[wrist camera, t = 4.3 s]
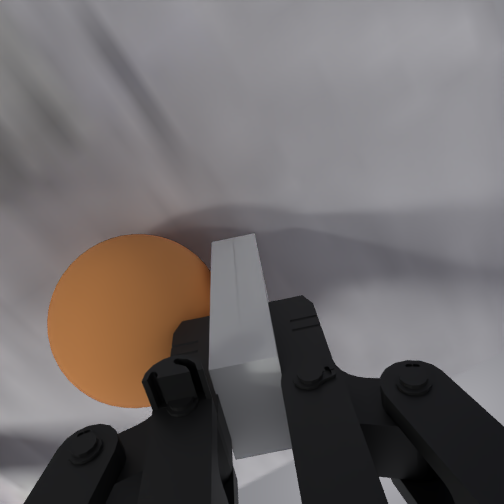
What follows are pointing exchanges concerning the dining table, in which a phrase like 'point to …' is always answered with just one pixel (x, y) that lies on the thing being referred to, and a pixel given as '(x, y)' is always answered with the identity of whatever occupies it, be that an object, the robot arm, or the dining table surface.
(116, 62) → the dining table surface
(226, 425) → the robot arm
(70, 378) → the ball
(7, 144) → the dining table surface
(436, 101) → the dining table surface
